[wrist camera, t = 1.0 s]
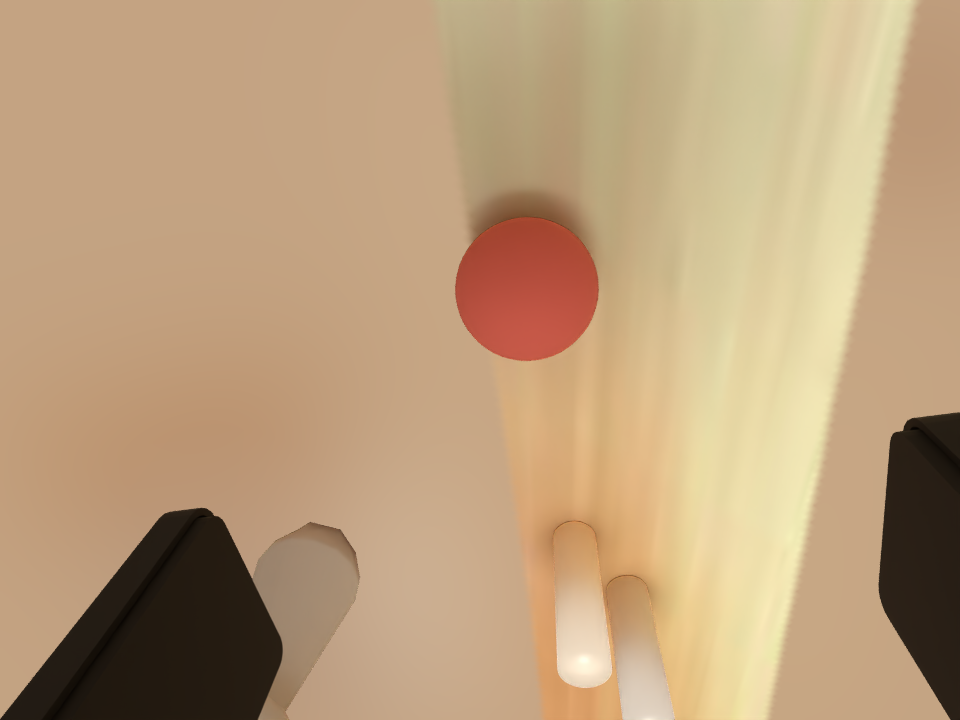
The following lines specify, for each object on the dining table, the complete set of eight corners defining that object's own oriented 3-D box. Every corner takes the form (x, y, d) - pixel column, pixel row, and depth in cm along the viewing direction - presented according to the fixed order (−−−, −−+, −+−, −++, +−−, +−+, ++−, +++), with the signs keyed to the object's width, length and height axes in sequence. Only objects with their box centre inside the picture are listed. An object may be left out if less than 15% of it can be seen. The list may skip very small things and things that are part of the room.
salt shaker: (333, 601, 40) (246, 828, 28) (255, 551, 38) (131, 767, 27) (387, 548, 37) (318, 770, 26) (307, 494, 36) (196, 701, 24)
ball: (451, 217, 29) (430, 252, 23) (583, 192, 28) (594, 223, 22) (477, 337, 31) (464, 394, 26) (600, 318, 30) (613, 374, 25)
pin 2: (604, 577, 37) (621, 714, 29) (645, 573, 36) (675, 711, 29) (608, 608, 38) (627, 748, 30) (649, 604, 37) (678, 745, 30)
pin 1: (550, 523, 36) (553, 652, 28) (592, 519, 35) (608, 647, 27) (556, 556, 37) (561, 689, 29) (598, 552, 36) (614, 686, 28)
